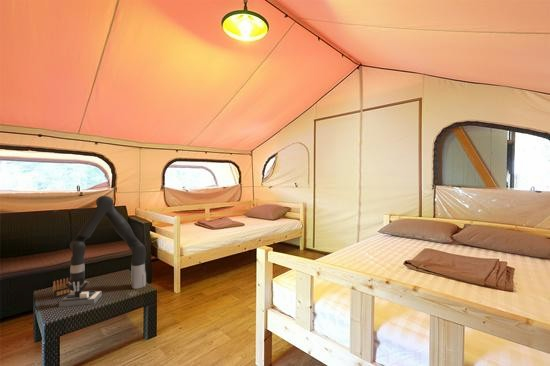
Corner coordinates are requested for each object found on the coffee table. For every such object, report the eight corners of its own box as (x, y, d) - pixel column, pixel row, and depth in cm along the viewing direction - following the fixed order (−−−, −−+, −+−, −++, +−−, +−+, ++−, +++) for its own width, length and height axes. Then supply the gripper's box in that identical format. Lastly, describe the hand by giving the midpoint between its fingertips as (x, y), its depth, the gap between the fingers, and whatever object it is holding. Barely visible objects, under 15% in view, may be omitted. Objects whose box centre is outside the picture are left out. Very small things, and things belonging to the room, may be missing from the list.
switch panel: (101, 295, 182) (101, 289, 182) (94, 303, 170) (94, 297, 170) (69, 297, 177) (68, 292, 177) (58, 306, 166) (58, 300, 165)
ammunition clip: (53, 298, 176) (52, 281, 176) (52, 297, 177) (52, 280, 177) (72, 293, 184) (72, 276, 184) (72, 292, 185) (71, 275, 185)
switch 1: (79, 293, 177) (79, 288, 177) (77, 295, 174) (77, 290, 174) (72, 293, 176) (72, 289, 176) (70, 295, 173) (70, 291, 173)
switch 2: (88, 296, 173) (88, 291, 173) (86, 298, 170) (86, 293, 170) (82, 296, 172) (81, 292, 172) (79, 299, 170) (79, 294, 169)
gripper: (91, 267, 175) (91, 292, 176) (69, 268, 172) (69, 294, 173) (86, 272, 168) (86, 298, 168) (62, 273, 165) (62, 299, 165)
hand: (77, 296), depth 171 cm, fingers closed
